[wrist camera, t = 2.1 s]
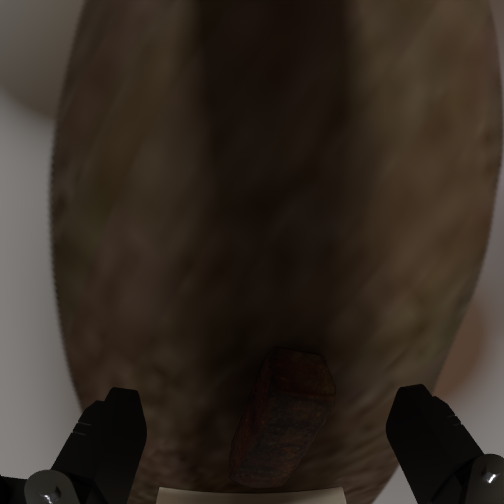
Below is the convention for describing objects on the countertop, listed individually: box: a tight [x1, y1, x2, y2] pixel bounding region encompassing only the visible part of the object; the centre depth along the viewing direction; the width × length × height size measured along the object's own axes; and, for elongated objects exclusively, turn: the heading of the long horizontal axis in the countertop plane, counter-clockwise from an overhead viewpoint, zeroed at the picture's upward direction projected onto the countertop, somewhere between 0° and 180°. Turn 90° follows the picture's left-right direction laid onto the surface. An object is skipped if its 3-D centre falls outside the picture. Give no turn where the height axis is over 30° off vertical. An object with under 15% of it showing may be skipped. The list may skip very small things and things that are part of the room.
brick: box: [229, 347, 336, 488], centre depth 18 cm, size 11×4×5 cm, turn 165°
